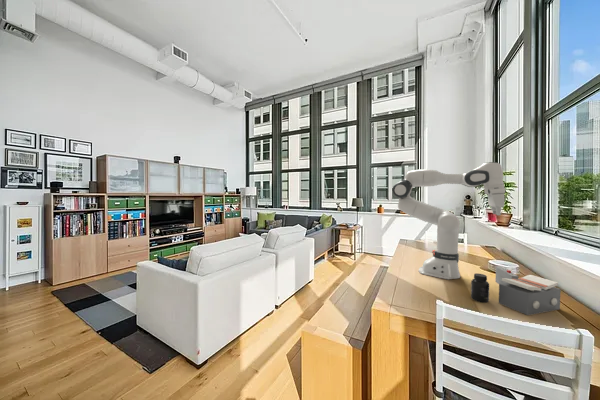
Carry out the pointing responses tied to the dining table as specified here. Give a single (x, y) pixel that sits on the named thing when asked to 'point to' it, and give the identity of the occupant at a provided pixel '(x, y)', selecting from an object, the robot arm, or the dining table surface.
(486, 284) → the supplement bottle
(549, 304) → the switch console
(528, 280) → the right rocker
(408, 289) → the dining table surface
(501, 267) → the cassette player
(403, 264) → the dining table surface
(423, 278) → the dining table surface
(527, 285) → the left rocker
